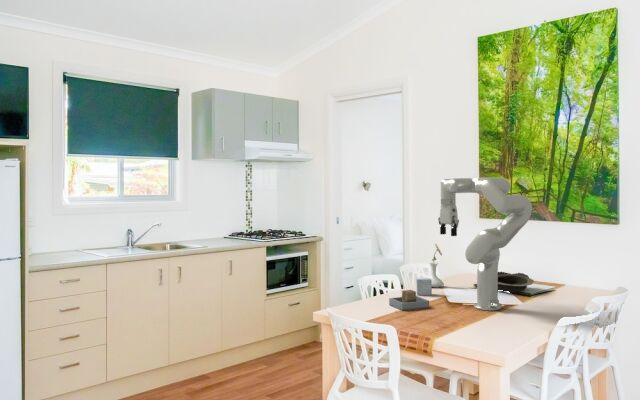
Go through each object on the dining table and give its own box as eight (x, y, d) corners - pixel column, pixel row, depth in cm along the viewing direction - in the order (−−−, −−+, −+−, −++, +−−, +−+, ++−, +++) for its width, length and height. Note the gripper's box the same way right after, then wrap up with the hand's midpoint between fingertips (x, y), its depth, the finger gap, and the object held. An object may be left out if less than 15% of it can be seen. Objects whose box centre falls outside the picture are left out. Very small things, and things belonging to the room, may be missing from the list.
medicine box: (430, 293, 291) (430, 278, 291) (431, 295, 287) (431, 279, 286) (416, 293, 292) (416, 278, 292) (417, 295, 287) (416, 279, 287)
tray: (429, 307, 260) (429, 300, 260) (402, 310, 254) (402, 303, 254) (415, 302, 272) (415, 295, 272) (389, 305, 267) (389, 298, 266)
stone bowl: (499, 284, 313) (501, 268, 312) (541, 293, 295) (542, 277, 294) (477, 290, 296) (478, 273, 295) (520, 300, 278) (521, 283, 277)
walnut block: (416, 305, 262) (415, 291, 261) (407, 306, 260) (406, 292, 260) (410, 303, 266) (410, 289, 266) (402, 304, 265) (401, 290, 264)
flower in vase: (439, 289, 302) (439, 245, 301) (420, 287, 308) (420, 244, 307) (447, 285, 313) (447, 243, 312) (429, 283, 319) (429, 242, 318)
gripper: (464, 202, 271) (464, 236, 272) (444, 201, 287) (445, 233, 288) (451, 203, 268) (452, 237, 269) (432, 202, 284) (433, 234, 285)
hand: (448, 235), depth 278 cm, fingers open, 9 cm apart
